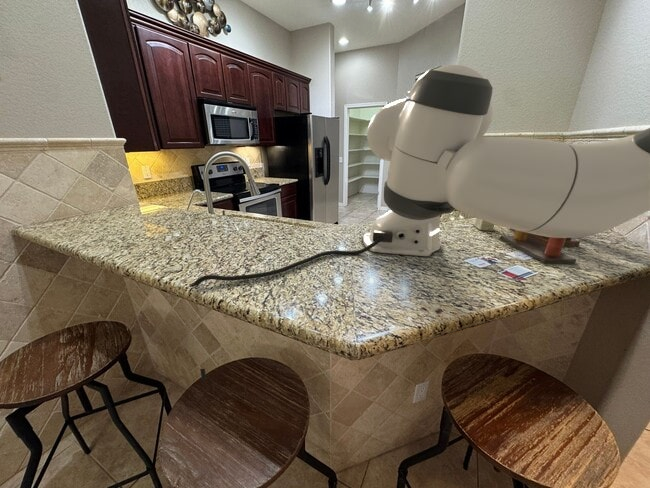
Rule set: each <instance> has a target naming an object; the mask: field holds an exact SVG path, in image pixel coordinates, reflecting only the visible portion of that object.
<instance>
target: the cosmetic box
mask: <svg viewBox="0 0 650 488" xmlns="http://www.w3.org/2000/svg"><path fill="white" fill-rule="evenodd" d="M474 226H475V227H476V229H478V230H479V231H488V232H493V231H494V227H495V224H492V223H489V222H486V221H483V220H481V219H478V218H475V221H474Z"/></svg>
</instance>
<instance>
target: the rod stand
mask: <svg viewBox="0 0 650 488" xmlns="http://www.w3.org/2000/svg"><path fill="white" fill-rule="evenodd" d="M527 235H528V233H527V232H523V231H518V230H516V231H514V234H513V235H511V234H510V235H506V234H505V235H504V234H503V235H500V237H499V240H501V241H502V242H505V243H507V244H508V245H510V246H512V247H514V248H515V249H517V250H519V251H521V252H523V253H525V254H526V255H528V256H530V257H532V258H533V259H535V260H537V261H539V262H541V263H543V264H566V265H567V264H569V265H570V264H571V265H573V264H576V262H577V259H576V258H574V257H573V256H570V255H569V254H566V253H564V252H562V251H563V247H564V246H563V245H564V243H565V240H566V238H555V237H549V240H548V243H547V245H544V244H542V243H540V242H538V241H536V240H534V239H532V238H530V237H527Z"/></svg>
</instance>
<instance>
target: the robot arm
mask: <svg viewBox="0 0 650 488" xmlns="http://www.w3.org/2000/svg"><path fill="white" fill-rule="evenodd" d="M493 89H494V87H493V86H492V84H491V82H490V80H489V78H485V77H484V76H483V75H482V74H481V73H480V72H478V71H477V70H475V69H474V68H471V67H469V66H465V65H461V64H449V65H443V66H440V67H437V68H435V69H427V71H425V72H424V73H423V74H422V75H420V77H418V78H417V80H416V81H415V83H414V84H413V86H412V87H411V89H410V90H406V92H405V93H404V94H403V95H404V97H405V98H402V99H398V100H395V101H393V102H390V103H389V104H386V105H385V106H383V107H382V108H381V109H380V110H378V111H377V112H376V113H375V114H374V115H373V116H372V118H371V119H370V121H369V124H368V127H367V130H366V131H367V132H366V139H367V144H368V147H369V149H370V150H371V152H372V153H373V154H374V155H375V156H376V157H377V158H379V159H380V160H383V161H387V162H389V166H388V172H387V178H386V180H385V181H384V185H383V202H384V204H385V205H386V206H387V208H388V209H389V210H388V211H387V212H385V213H384V214H382V215H381V216H378V217H377V218H375V219H374V221H373V223H372V226H371V228H370V229H371V230H370V232H367V233H365V234H364V235H363V236H362V242H363V244H364V246H365V247H364V248H361V249H359V250H328V251H322V252H320V253H316V254H314V255H312V256H309V257H307V258H304V259H302V260H301V259H300V260H298V261H296V262H293V263H291V264H289V265H286V266H284V267H280V268H276V269H273V270H269V271H264V272H258V273H252V274H249V273H248V274H241V275H231V276H230V275H217V274H206V275H203V276H200V277H199V278H197V279H196V280H195V281H194V282H193V284H192V286H193V287H196V286H199V285H200V284H201V283H203V282H205V281H211V280H213V281H214V280H216V281H225V282H234V281H241V280H252V279H259V278H265V277H270V276H274V275H278V274H282V273H284V272H287V271H289V270H291V269H292V270H293V269H294V268H296V267H299V266H301V265H304V264H307V263H309V262H311V261H314V260H317V259H319V258H322V257H324V256H331V255H344V256H345V255H347V256H351V255H352V256H354V255H360V254H364V253H366V252H368V251H371V252H374V253H379V254H381V253H382V254H393V255H405V256H418V257H430V256H431V255H432V253H435V252H437V251H438V250H440V249H441V241H440V223H441V218H442V215H447V214H451V213H452V212H454V211H455V210H457V211H459V212H461V213H463V214H466V215H468V216H470V217H472V218H475V219H476V218H478V219H481V220H483V221H486V222H489V223H492V224H494V226H495V225H496V226H499V227H502V228H506V229H509V230H511V229H514V230H518V231H523V232H527V233H531V234H536V235H540V236H546V237H555V238H573V239H577V238H585V237H590V236H595V235H598V234H601V233H605V232H606V231H609V230H612V229H614V228H616V227H618V226H620V225H622V224H624V223H626V222H629V221H630V220H633V219H634V218H637V217H638V216H641V215H642V214H645V213H646V212H647V213H648V212H649V211H650V127H649V128H646V129H644V130H642V131H638V132H636V133H635V134H632V135H631V134H630V135H627V136H624V137H621V138H616V139H611V140H606V141H600V142H592V143H567V142H561V141H556V140H548V139H541V138H532V137H520V136H519V137H518V136H485V134H486V133H487V132H488V130H489V129H490V126H491V124H492V121H493V113H494V112H493V107H492V104H491V101H492V96H493ZM483 136H484V137H483ZM205 369H206V368H199V371H200V377H201V380H202V381H205V380H206V379H207V374H206V370H205Z"/></svg>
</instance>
